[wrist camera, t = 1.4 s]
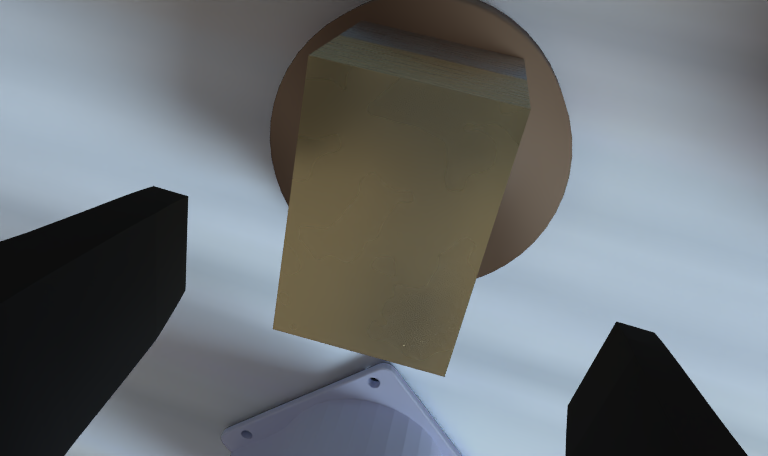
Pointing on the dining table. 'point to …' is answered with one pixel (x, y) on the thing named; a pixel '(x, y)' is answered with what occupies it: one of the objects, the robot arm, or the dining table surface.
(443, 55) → the block
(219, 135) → the dining table surface
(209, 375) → the dining table surface
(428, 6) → the stand
